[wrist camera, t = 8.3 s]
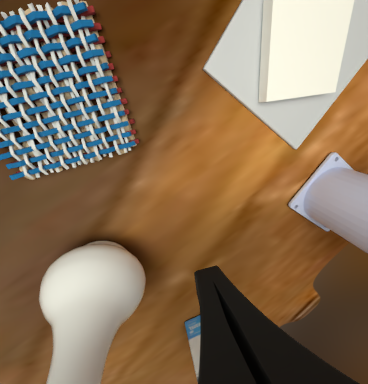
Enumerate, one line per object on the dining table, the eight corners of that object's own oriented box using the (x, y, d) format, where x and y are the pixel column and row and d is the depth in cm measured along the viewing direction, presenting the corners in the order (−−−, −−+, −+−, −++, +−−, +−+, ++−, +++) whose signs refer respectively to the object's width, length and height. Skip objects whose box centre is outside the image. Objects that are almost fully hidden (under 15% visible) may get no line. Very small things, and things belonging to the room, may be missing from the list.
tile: (356, -13, 14) (273, -9, 13) (335, 92, 17) (266, 101, 16) (339, -3, 15) (261, 1, 14) (322, 93, 18) (257, 102, 17)
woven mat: (143, 146, 18) (144, 151, 16) (28, 179, 17) (14, 188, 15) (95, 0, 13) (87, -17, 11) (-70, 34, 12) (-107, 21, 10)
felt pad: (386, 29, 18) (391, 28, 17) (293, 148, 21) (296, 149, 20) (309, -118, 13) (314, -125, 12) (202, 69, 16) (203, 68, 15)
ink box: (183, 320, 29) (208, 441, 18) (212, 308, 29) (253, 420, 19) (197, 346, 33) (224, 459, 22) (222, 335, 33) (261, 441, 23)
